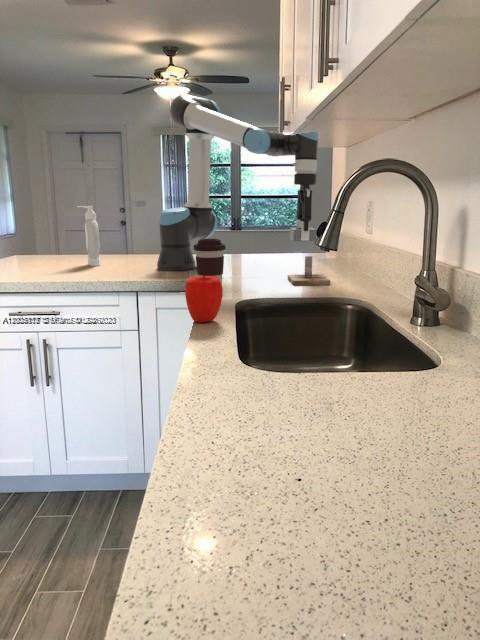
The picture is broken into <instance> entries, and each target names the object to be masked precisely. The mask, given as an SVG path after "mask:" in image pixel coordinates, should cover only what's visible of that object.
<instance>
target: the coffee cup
mask: <svg viewBox="0 0 480 640" xmlns="http://www.w3.org/2000/svg"><path fill="white" fill-rule="evenodd" d="M197 241H198V242H197V243H196V244H194V245H193V250H194V251H195V267H196V273H197V277H200V276H214V277H217V278H218V279H220V281H221V284H222V285H223V275H224V264H225V263H224V261H225V260H224V259H225V256H224V252H225V250H226V244H225V243H222V241H221V239H219V238H204V239H198V240H197Z"/></svg>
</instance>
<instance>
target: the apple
mask: <svg viewBox="0 0 480 640" xmlns="http://www.w3.org/2000/svg"><path fill="white" fill-rule="evenodd" d="M184 285H185V287H184V288H185V291H184V295H185V301H186V306H187V309H188V313H189V316H190V318H191V319H192V320H193V322H195V323H197V322H198V324H200V323H206V322H210V321H211V322H212V321H213V320H215V319H216V317H217V315H218V313H219V311H220V309H221V305H222V301H223V300H222V299H223V283H222V284H221V281H220V279H218V278H217V277H214V276H200V277H198V276H193V277H189V278H188V279H187V280H186V282H185V284H184Z"/></svg>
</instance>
